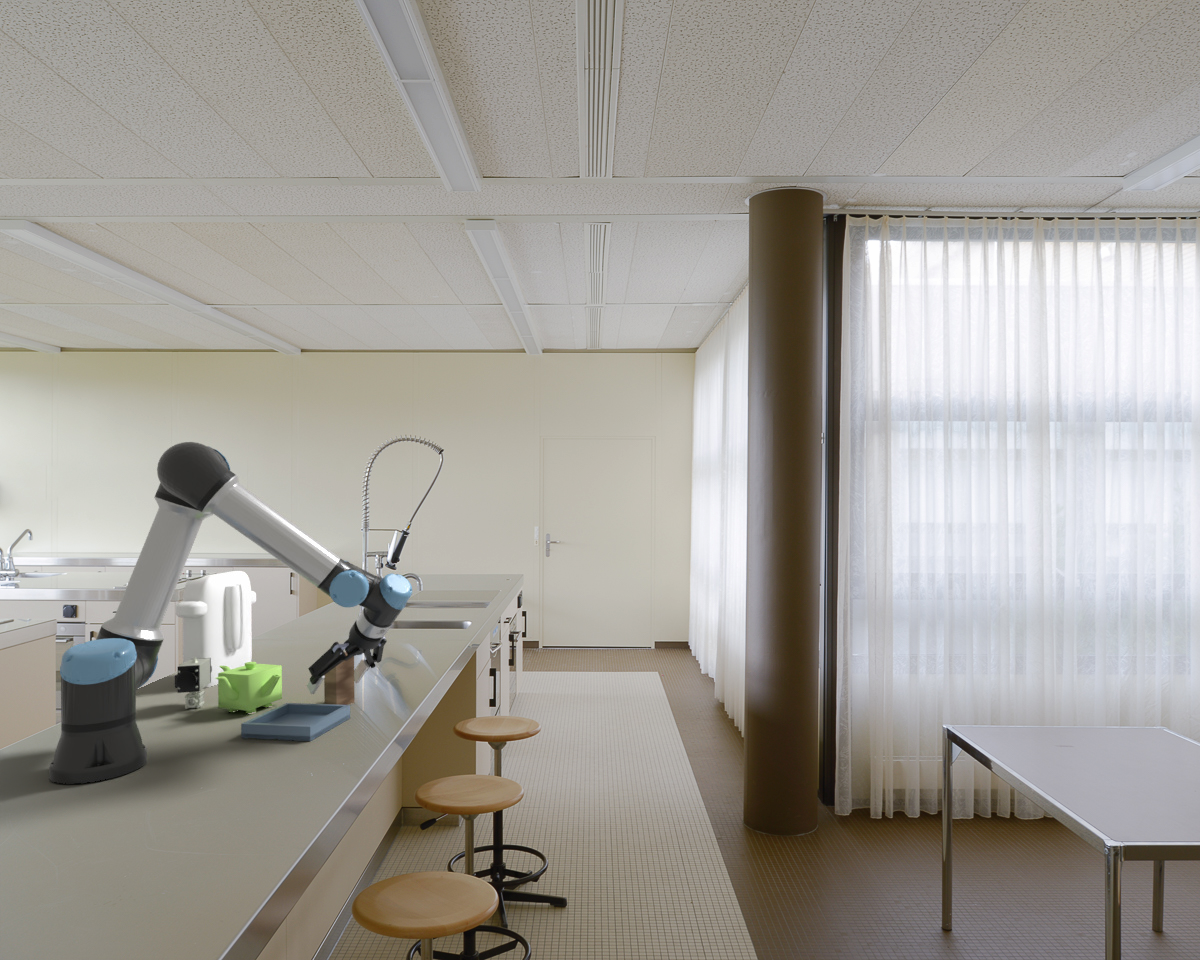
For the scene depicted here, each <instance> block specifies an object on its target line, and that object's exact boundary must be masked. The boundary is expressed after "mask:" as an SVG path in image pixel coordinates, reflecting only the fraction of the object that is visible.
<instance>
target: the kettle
mask: <svg viewBox="0 0 1200 960" xmlns="http://www.w3.org/2000/svg"><path fill="white" fill-rule="evenodd" d="M219 667H221V668H222V669H223V671H224V672H221V673H218V677H216V678H215V679H218V685H217V689H218V690H217V696H218V697H217V700H218V701H217V703H218V704H217V706H218V709H226V710H228V711H229V712H233V711H237V710H238V711H245V714H246V713H252V712H255V711H256V712H257V708H260V707H262V708H263V707H269V706H272V705H273V704H272V703H274V702H276V701H280V700H282V699H283V681H282V680H283V669H282V668H283V666H282V665H281V664H280V665H279V664H267V663H257V661H251V662H247V663H245V666H241V667H238V668H234V669H230V668H229V667H228V666H219ZM238 711H237V712H238ZM233 713H234V712H233Z"/></svg>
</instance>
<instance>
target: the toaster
mask: <svg viewBox="0 0 1200 960" xmlns="http://www.w3.org/2000/svg"><path fill="white" fill-rule="evenodd" d="M249 577H250V576H248V574H247V573H246V572H245V571H243V570H231V571H226V572H219V573H218V572H217V573H212V574H207V575H204V576H202V577H200V578H196V579H194V580H187V581H186V582H185V585H184V588H183V594H182V601H180V602H178V603H177V604H176V606H175V615H176V617H178V618H182V663H185V662H187V661H188V660H190V659H193V658H194V657H197V659H199V658H211V667H212V672H211V683H209V684H208V685H207V686H205V687H204V688H203V689H207V688H206V687H209V688H212V687H211V686H213V687H215V686H214V685H216V686H218V685H217V684H218V679H215V678H216V677H218V673H221V672H224V671H223V669H222V668H221V667H219V666H228V667H229V668H230V669H234V668H238V667H241V666H245V663H247V662H252V659H253V657H252V655H253V653H252V652H253V645H252V644H253V643H252V642H253V641H252V640H253V639H252V637H253V635H252V630H253V629H252V622H253V621H252V619H253V618H252V617H253V616H252V605H254V604H255V603H256V602H257V593H256V591H254V590H252V585H251V579H250V578H249Z"/></svg>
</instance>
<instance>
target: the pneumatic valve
mask: <svg viewBox="0 0 1200 960" xmlns="http://www.w3.org/2000/svg"><path fill="white" fill-rule="evenodd" d="M211 672H212V667H211V658H199V659H197V657H194V658H193V659H190V660H188V661H187V662H185V663H183V662H181V663H179V664H178V666H177V674H176V673H175V675H174V689H177V693H178V694H181V693H183V694H184V693H187V694H185V696H184V698H185V706H184V708H185V710H188V709H195V708H196V709H201V707H202V706H204V705H205V702H206V701H204V700H205V696H204V695H205V690H203V689H205V688H204V687H205V686H207V685H208V684H209V683H211Z"/></svg>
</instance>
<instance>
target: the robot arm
mask: <svg viewBox="0 0 1200 960" xmlns="http://www.w3.org/2000/svg"><path fill="white" fill-rule="evenodd" d="M156 471H157V478H158V481H159V482H160V483H159V485H158V488H157V490H156V493H155V495H154V500H155V501H156V503H157V506H158V510H157V511H156V514H155V517H154V519H153V521H152V524H151V526H150V529H149V531H148V533H147V536H146V539H145V541H144V543H143V546H142V548H141V550H140V553H139V556H138V559H136V560H137V561H136V563H135V565H134V568H133V570H132V572H131V575H130V578H129V580H128V583H127V585H126V588H125V590H124V592H123V595H122V597H121V600H120V602H119V605H118V607H117V608H116V609H117V610H116V611H115V614H114V616H113V617H112V618H110V619H109V620H106V621H104V622H103V623H102V624H101V627H100V629H99V631H98V633H97V636H96V638H95V639H93V640H88V641H85V642H83V643H78V644H76V645H73V646H71V647H70V648H68V649H67V650H65V652H63V654H62V657H61V661H60V662H61V664H60V667H59V674H60V698H61V699H60V707H61V708H60V711H61V712H60V715H61V716H60V720H61V721H60V724H61V726H60V727H61V729H60V730H61V731H60V736H59V737H60V738H58V739H59V740H58V743H57V745H56V749H55V753H54V756H53V757H54V758H53V760H52V761H51V762H50V765H49V767H48V768H49V773H48V774H49V775H48V776H49V778H50V779H49V781H50V782H52V781H53V782H52V783H54V782H57V783H56V784H59V783H63V784H62V785H75V784H74V783H81V784H88V783H87V782H90V783H94V782H95V781H96V782H101V781H106V780H110V779H113V778H114V779H115V778H117V777H121V776H124V775H126V774H130V773H132V772H134V771H136V770H138V769H140V768H141V767H143V766H144V765H145V764H146V763H147V761H148V759H147V757H148V755H147V754H148V752H147V747H146V745H145V744H143V739H142V736H141V732H140V730H139V727H138V724H137V713H136V711H137V708H136V707H137V700H136V699H137V697H136V696H137V693H136V692H137V690H138V689H140V688H141V687H143V686H144V685H145V684H146V683H147V682H148V681H149V680H150V679H151V678H152V676H153V675H154V673H155V671H156V670H157V667H158V660H159V652H160V650H161V647H162V644H163V643H164V639H165V634H164V633H163V631H162V629H161V626H162V624H163V621H164V618H165V615H166V613H167V611H168V608H169V605H170V603H171V601H172V598H173V595H174V593H175V591H176V588H177V586H178V583H179V580H180V578H181V575H182V573H183V570H184V569H185V566H186V563H187V561H188V558H189V556H190V554H191V551H192V548H193V546H194V543H195V540H196V538H197V536H198V533H199V530H200V528H201V525H202V523H203V521H204V520H205V519H207V518H210V517H212V516H213V515H214V516H216V517H217V518H218V519H220V520H222V521H223V522H224V523H226V524H227V525H229V526H230V527H232V528H233V529H234V530H235V531H237V532H238V533H240V534H241V535H243V536H244V537H245V538H247V539H248V540H250V541H252V543H254V544H255V545H257V546H258V547H260V548H261V549H263V550H264V551H266V552H267V553H268V554H270V555H271V556H272V557H274V558H275V559H277V560H278V561H279V562H281V563H283V564H284V565H285V566H287V567H288V568H289V569H291V570H292V571H294V572H295V573H296V574H298V575H299V576H301V577H302V578H304V579H305V580H306V581H308V582H309V583H311V584H312V585H313V586H314V587H316V588H317V589H319V590H320V591H321V592H323V593H324V594H326V595H327V596H328V597H330V598H331V599H332V602H334V603H335V604H336V605H338V606H340V607H341V608H354V607H357V606H359V607H362V608H363V609H362V611H361V612H360V614H359V615H358V616H357V619H356V620H355V621H354V623H353V625H352V626H351V628H350V630H349V634H348V639H346V640H345V641H344V642H343V643H339V641H334V642H333V643H332V645H331V646H330V648H328V649H327V650H326V651H325V652H324V653H323V654H322V655H321V656H320V657H319V658H318V659H317V660H316V661H315V662H313V663H312V664H311V665H310V666H309V667H308V671H309V674H310V675H311V676H310V678H309V681H308V682H307V684H306V687H307V689H308V691H309V693H310V695H314V694H315V693H316V692H317V690H318V689H319V687H320V686H321V684H322V683H323V682H324V678H325V676H324V675H325V674H326V673H328V672H329V671H330V670H332V669H333V668H335V667H336V666H337V665H339V664H340V663H341V662H343V661H347V660H349V659H350V658H351V657H353V656H354V657H355V656H361V655H364V658H361V660H360V661H359V662H358V664H357V666H356V668H354V684H359V683H360V681H361V680H362V678H363V677H364V675H365V674H366V673H367V672H368V670H369V669H370V668H371V669H374V668H375V667H376V665H377V664H376V663H380V662H381V661H382V658H383V653H384V647H385V645H386V643H387V642H388V641H387V638H386V637H385V636H386V634H387V633H388V631H389V630H390V628H391V626H392V625H393V623H394V622H395V621H396V620H397V618H398V617H399V615H400V613H401V612H402V611H403V609H404V608H406V605H407V603H408V601H409V600H410V598H411V597H412V595H413V586H412V584H411V582H410V581H409V579H407V578H406V577H405V576H403V575H402V574H400V573H396V574H395V573H394V572H392V573H388V574H386V575H384V577H380V576H377V575H375V574H373V573H370V572H369V571H367V570H365V569H363V568H361V567H359V566H357V565H355V564H353V563H351V562H350V561H348V560H345V559H342V558H341V557H340V556H338V555H337V554H336V553H334V552H333V551H332V550H330V549H329V548H328V547H326V546H325V545H323V544H322V543H321V542H320V541H318V540H316V539H315V538H314V537H312V536H311V535H310V534H309V533H307V532H306V531H305V530H304V529H302V528H301V527H299V526H298V525H296V524H295V523H293V522H292V520H291V521H290V520H289V519H288V518H287V517H286V516H284V515H282V514H281V513H280V512H278V511H277V510H276V509H274V508H273V507H271V505H269V504H268V503H266V502H265V501H264V500H262V499H260V498H259V497H258V496H257V495H255V494H254V493H253V492H251V491H250V490H248V489H247V488H246V487H244V486H243V485H242V484H240V482H239V476H238V475H237V474H235V473H234V472H233V471H231V466H230V464H229V461H228V460H227V458H226V456H224V455H223V453H222V452H220V451H219V450H218V449H215V448H213V447H211V446H207V445H205V444H203V443H199V442H194V441H185V442H179V443H177V444H174V445H172V446H170V447H169V448H167V449H166V450H165V451H164V452H163V453H162V455H161V456H160V458H159V460H158V463H157V468H156ZM371 650H373V651H372V652H371ZM344 652H346V653H347V656H346V655H345V653H344ZM105 779H106V780H105ZM100 780H101V781H100ZM65 783H66V784H65Z"/></svg>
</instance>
